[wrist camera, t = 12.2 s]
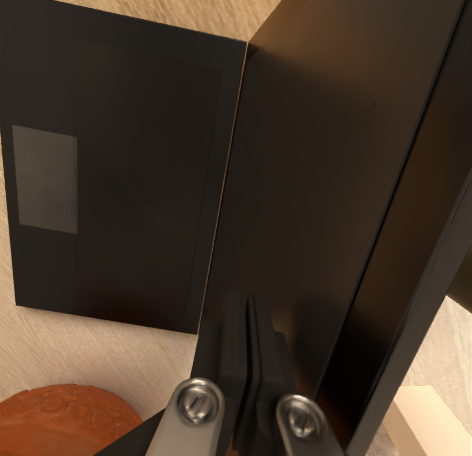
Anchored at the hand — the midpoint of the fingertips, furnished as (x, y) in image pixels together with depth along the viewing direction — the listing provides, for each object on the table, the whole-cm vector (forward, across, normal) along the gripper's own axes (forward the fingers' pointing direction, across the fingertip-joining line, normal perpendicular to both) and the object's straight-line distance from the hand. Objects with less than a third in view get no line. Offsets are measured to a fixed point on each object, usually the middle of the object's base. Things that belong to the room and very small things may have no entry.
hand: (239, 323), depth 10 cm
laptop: (+18, +13, 0) cm, 22 cm away
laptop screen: (+6, 0, 0) cm, 6 cm away
